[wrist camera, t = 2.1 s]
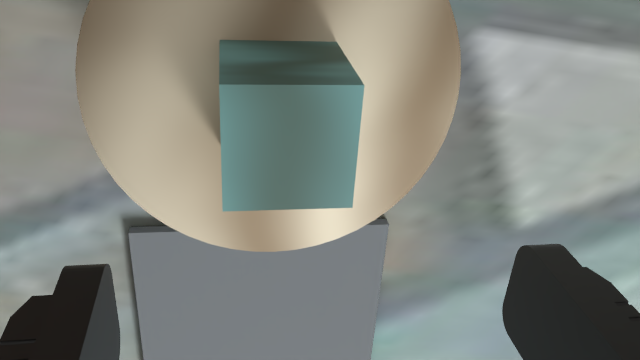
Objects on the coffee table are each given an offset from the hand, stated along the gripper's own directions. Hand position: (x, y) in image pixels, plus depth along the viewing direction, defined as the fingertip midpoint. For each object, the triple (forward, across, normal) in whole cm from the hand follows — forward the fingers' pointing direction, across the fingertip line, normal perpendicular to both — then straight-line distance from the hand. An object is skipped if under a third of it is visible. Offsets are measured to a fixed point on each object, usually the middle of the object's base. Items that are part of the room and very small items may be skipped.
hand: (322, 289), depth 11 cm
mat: (+18, 0, +17) cm, 25 cm away
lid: (+12, 0, 0) cm, 12 cm away
